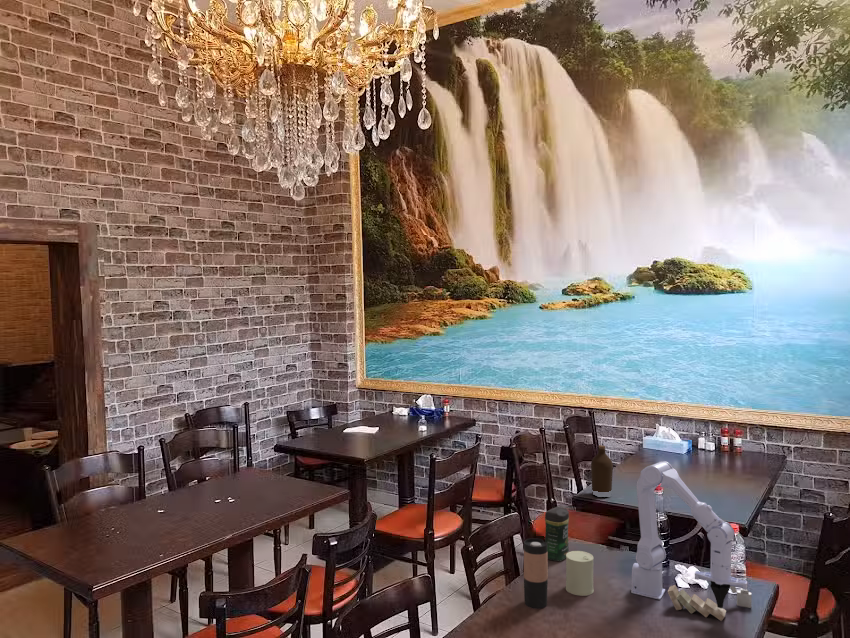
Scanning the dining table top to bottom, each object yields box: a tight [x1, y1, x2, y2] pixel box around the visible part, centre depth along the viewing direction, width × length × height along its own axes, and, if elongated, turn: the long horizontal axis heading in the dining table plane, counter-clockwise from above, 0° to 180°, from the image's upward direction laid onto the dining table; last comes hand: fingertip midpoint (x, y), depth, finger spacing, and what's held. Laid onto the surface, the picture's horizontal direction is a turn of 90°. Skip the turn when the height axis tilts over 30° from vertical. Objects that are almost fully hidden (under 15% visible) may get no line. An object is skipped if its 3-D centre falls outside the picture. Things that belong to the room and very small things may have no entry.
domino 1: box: [667, 584, 684, 611], centre depth 202 cm, size 2×4×6 cm, turn 149°
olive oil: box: [590, 444, 614, 492], centre depth 316 cm, size 11×11×25 cm
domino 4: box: [703, 597, 727, 622], centre depth 196 cm, size 2×4×6 cm
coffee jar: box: [544, 506, 570, 562], centre depth 241 cm, size 10×8×19 cm
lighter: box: [729, 586, 752, 609], centre depth 203 cm, size 7×2×8 cm, turn 66°
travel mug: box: [523, 537, 549, 610], centre depth 204 cm, size 8×8×20 cm
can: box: [565, 550, 595, 597], centre depth 214 cm, size 9×9×12 cm
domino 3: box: [689, 593, 711, 618], centre depth 198 cm, size 2×4×6 cm
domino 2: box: [677, 589, 697, 615], centre depth 200 cm, size 2×4×6 cm
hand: (720, 606), depth 195 cm, fingers closed
